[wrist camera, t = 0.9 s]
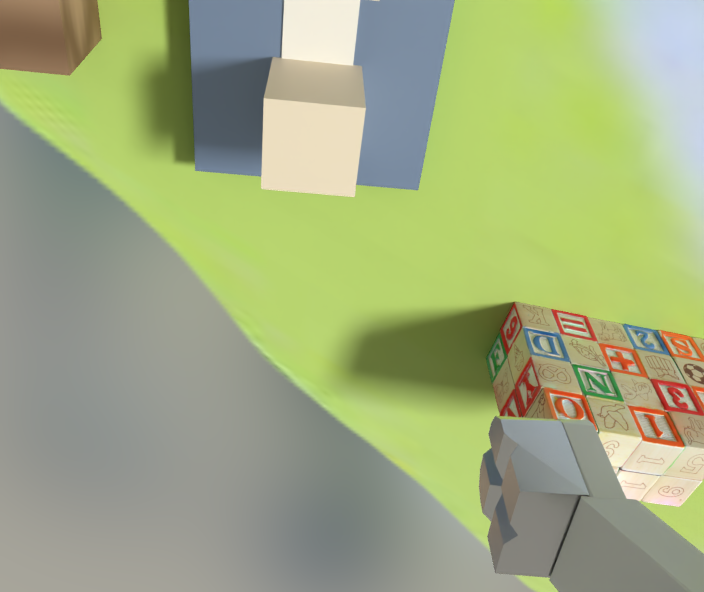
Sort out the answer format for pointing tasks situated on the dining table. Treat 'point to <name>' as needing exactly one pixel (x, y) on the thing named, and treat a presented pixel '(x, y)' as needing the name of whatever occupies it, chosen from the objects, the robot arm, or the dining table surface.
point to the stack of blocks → (610, 392)
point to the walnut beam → (47, 34)
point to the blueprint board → (385, 83)
